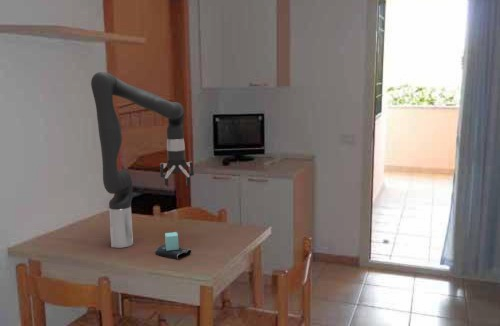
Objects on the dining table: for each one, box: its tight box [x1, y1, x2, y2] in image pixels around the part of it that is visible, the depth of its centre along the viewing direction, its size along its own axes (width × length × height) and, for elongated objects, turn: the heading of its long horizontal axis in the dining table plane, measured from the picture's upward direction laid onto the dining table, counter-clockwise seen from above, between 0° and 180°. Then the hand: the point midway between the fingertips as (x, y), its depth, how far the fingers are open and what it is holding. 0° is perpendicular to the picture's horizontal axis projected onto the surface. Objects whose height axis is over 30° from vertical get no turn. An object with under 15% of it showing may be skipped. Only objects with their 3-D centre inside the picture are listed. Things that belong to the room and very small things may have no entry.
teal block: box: [164, 231, 180, 251], centre depth 207 cm, size 5×5×6 cm
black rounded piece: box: [155, 244, 192, 260], centre depth 207 cm, size 9×6×15 cm
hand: (177, 185), depth 216 cm, fingers open, 8 cm apart
